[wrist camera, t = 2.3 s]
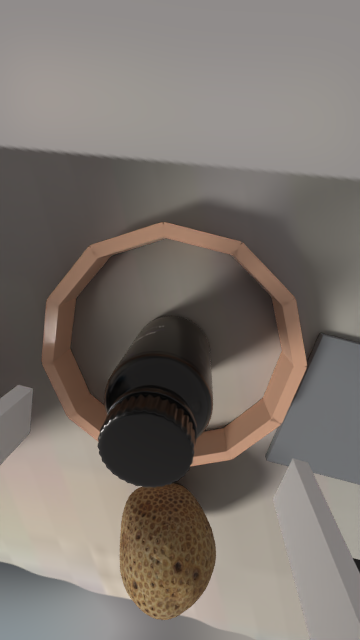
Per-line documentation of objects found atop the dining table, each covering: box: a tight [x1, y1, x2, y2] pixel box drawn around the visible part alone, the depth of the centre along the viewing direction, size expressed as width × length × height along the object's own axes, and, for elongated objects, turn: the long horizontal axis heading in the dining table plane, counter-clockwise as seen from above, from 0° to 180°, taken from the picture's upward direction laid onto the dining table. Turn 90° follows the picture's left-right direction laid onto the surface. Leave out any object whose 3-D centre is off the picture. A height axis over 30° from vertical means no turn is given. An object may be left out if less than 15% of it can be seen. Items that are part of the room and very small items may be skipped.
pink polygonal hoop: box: [41, 222, 307, 466], centre depth 22 cm, size 21×21×3 cm
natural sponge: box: [120, 483, 216, 620], centre depth 24 cm, size 9×9×10 cm
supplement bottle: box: [98, 316, 213, 488], centre depth 18 cm, size 7×7×12 cm
